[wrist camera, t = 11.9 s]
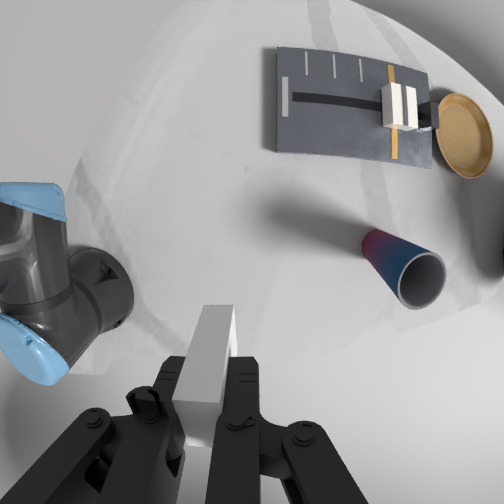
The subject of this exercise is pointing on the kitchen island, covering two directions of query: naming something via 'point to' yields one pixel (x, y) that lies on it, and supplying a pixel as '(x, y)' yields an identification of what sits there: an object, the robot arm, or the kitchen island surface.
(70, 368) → the robot arm
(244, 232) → the kitchen island surface
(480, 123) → the plant saucer
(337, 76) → the console
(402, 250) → the cup
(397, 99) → the fader
